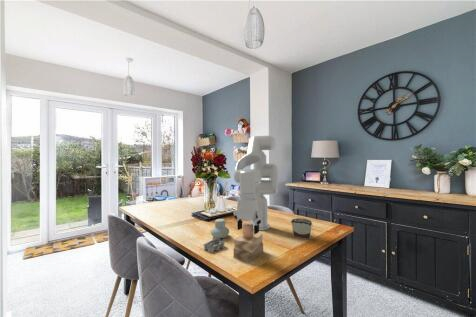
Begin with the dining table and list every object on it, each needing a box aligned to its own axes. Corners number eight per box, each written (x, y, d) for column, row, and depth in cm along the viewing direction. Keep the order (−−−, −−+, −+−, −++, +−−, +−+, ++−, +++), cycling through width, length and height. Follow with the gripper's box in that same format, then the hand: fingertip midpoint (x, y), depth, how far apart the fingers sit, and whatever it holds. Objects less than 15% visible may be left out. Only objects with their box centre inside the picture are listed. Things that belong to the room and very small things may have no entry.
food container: (314, 236, 132) (314, 219, 132) (312, 240, 127) (312, 222, 126) (294, 233, 138) (293, 217, 138) (290, 236, 133) (290, 219, 133)
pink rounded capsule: (241, 237, 109) (241, 225, 109) (247, 234, 113) (246, 222, 113) (249, 239, 106) (249, 227, 106) (255, 236, 110) (255, 224, 110)
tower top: (234, 249, 106) (234, 239, 106) (246, 239, 118) (246, 231, 118) (252, 252, 102) (251, 243, 102) (262, 242, 114) (262, 233, 113)
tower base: (233, 258, 107) (233, 248, 107) (248, 248, 118) (247, 239, 118) (249, 262, 102) (249, 253, 102) (263, 252, 113) (263, 243, 113)
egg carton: (218, 243, 125) (218, 236, 124) (226, 247, 119) (226, 239, 119) (201, 249, 117) (201, 241, 117) (210, 253, 112) (210, 245, 112)
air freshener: (220, 241, 127) (220, 223, 127) (209, 238, 131) (208, 221, 131) (231, 235, 136) (230, 218, 136) (219, 232, 141) (219, 216, 141)
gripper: (228, 195, 111) (229, 229, 112) (258, 199, 101) (259, 237, 101) (237, 193, 117) (238, 225, 118) (266, 196, 107) (267, 232, 107)
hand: (248, 230), depth 110 cm, fingers open, 9 cm apart
